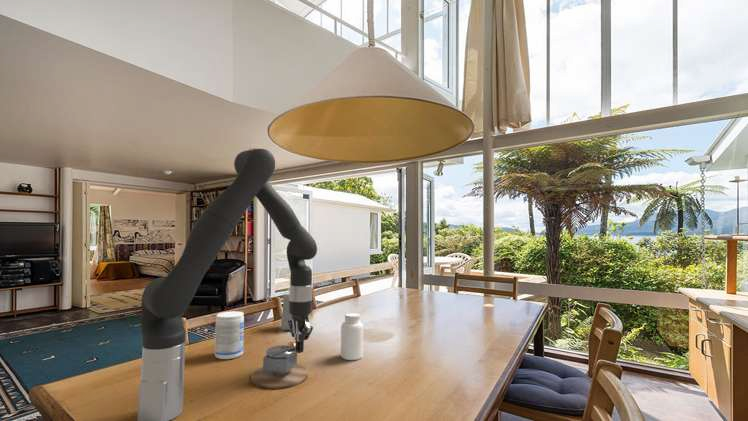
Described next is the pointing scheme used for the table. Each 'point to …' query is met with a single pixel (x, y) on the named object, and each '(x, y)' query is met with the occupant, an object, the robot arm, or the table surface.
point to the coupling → (280, 358)
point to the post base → (279, 378)
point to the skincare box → (285, 313)
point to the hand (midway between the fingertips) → (299, 352)
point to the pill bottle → (352, 337)
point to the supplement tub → (229, 335)
